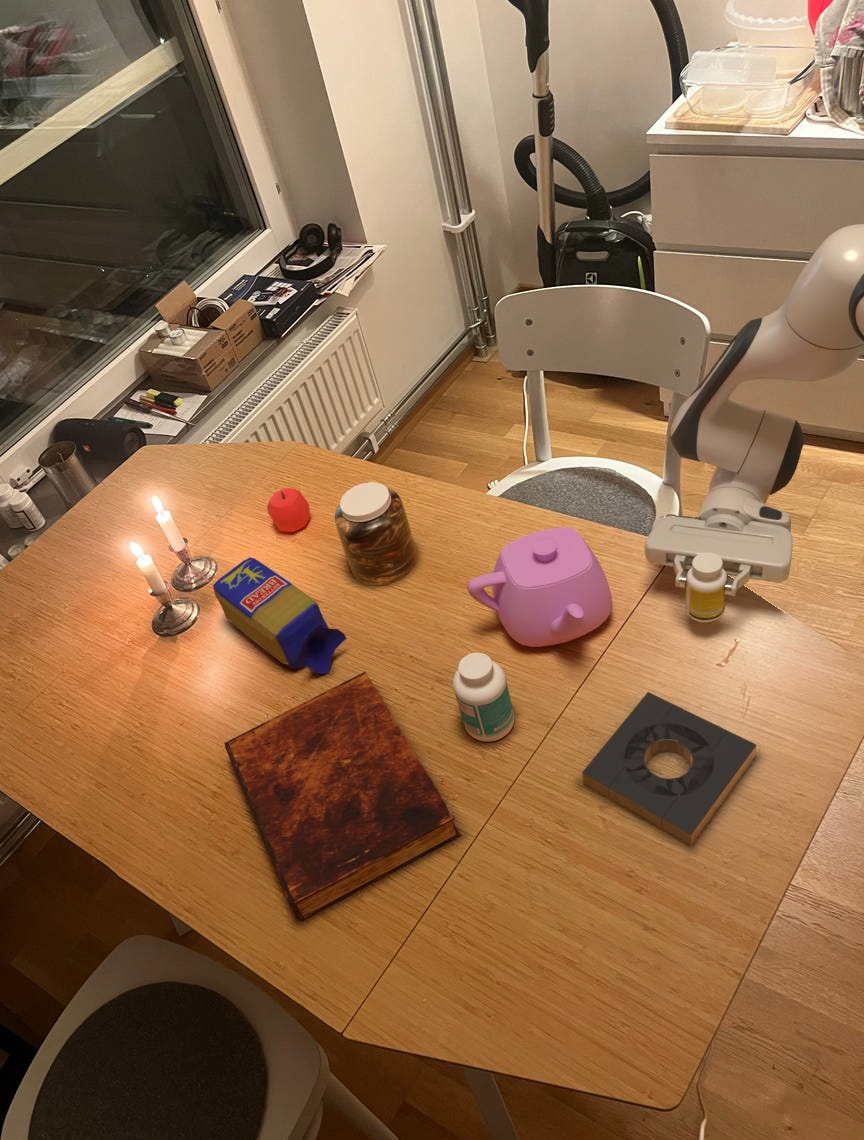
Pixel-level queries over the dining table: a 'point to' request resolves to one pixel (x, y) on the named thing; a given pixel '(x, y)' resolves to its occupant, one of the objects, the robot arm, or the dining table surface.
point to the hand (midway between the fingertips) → (705, 588)
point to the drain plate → (673, 800)
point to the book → (338, 795)
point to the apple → (289, 509)
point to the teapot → (546, 588)
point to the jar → (375, 534)
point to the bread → (277, 616)
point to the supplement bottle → (706, 588)
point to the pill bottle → (483, 697)
